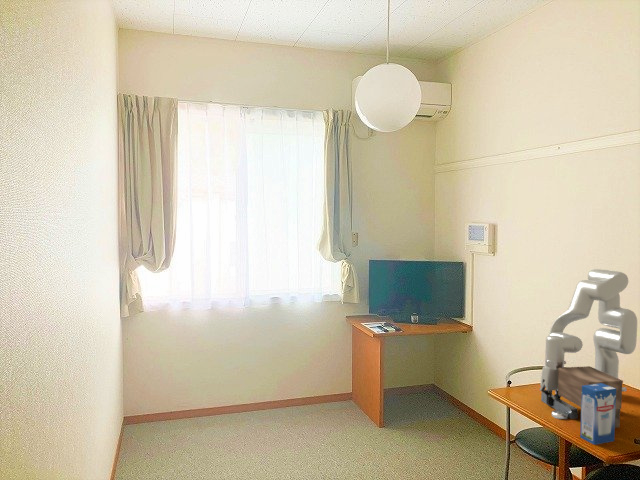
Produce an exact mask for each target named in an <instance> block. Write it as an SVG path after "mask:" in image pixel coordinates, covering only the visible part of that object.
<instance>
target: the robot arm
mask: <svg viewBox="0 0 640 480" xmlns="http://www.w3.org/2000/svg"><path fill="white" fill-rule="evenodd" d="M628 284H629V277H628V275H627V274H626V273H624V272H622V271H618V270H617V271H615V270H610V269H609V270H608V269H601V268H600V269H598V268H597V269H596V268H595V269H591V270H590V271H589V272H588V273H587V280H586V279H582V280H580V281H578V282H577V284H576V286H575V289H574V292H573V294H572V297H571V300H570V302H569V305H568V308H567V310H566V311H564V312H563V313H562V314H560V315H559V316H558V317H556V319H555V320H554V321H553V322H552V325H551V327H550V330H549V332H548V335H547V336H546V338H545V359H544V365H543V367H542V370H541V375H540V382H539V383H540V388H539V391H540V392H541V393H542V392H544V393H545V395H547V404H548V406H549V405H550V406H549V407H551V406H553V398H552V395H554V396H555V397H557V398H559V399H561V398H562V396H560V395H558V377H559V370H558V368H564V367H565V365H566V364H567V361H566V360H565V353H568V354H569V353H570V354H574V353H578V352H580V351H581V350H582V348H583V345H584V344H583V341H582V339H581V338H580V337H578V336H576V335H573V334H569V333H565V332H564V330H566V329H565V328H567V326H568V325H570V324H571V323H574V322H576V321H579V320H583V319H587V318H589V316H590V314H591V313H590V312H591V310H592V307H593V304H594V301H598V311H597V315H598V316H597V318H598V322H599V323H600V324H601V325H603V326H607V327H610V328H606V327H605V328H604V327H602V328H601V327H600V328H598V329H596V330H595V331H594V333H593V344H594V351H595V353H594V355H595V357H594V358H595V359H594V368H595V369H597V370H599V371H602V372H604V373H606V374H609V375H611V376H613V377H616V378H618V379H619V365H620V364H619V362H620V360H619V356H618V353H619V354H624V355H631V354H633V353H634V351H635V350H636V347H637V340H638V339H637V336H638V317H637V315H636V313H635V312H634V311H633V310H631V309H629V308H624V307H623V308H622V307H621V297H620V293H621V292H623V291H625V290H626V288H627V287H628ZM611 328H615V329H618V330H615V329H611ZM553 391H554V392H555V394H553ZM627 391H628V390H627V387H623V386H622V393H624V392H627ZM547 404H546V405H547Z"/></svg>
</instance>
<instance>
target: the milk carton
mask: <svg viewBox="0 0 640 480" xmlns="http://www.w3.org/2000/svg"><path fill="white" fill-rule="evenodd" d="M615 409H616V388H613V387H611V386H608V385H605V384H603V383H599V384H591V385H584V386H582V399H581V407H580V433H579V434H580V436H579V437H580V438H581V439H582V440H585V441H586V442H588V443H590V444H592V445H595V446H596V445H601V444H604V443H611V442H615V434H616V433H615V431H616V428H615Z"/></svg>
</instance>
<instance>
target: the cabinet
mask: <svg viewBox="0 0 640 480" xmlns="http://www.w3.org/2000/svg"><path fill="white" fill-rule="evenodd" d="M558 370H559V377H558V395H560V396H561V398H564V399H566V401H569V402H571V403H573V404H574V405H576V406H578V407H579V408H581V399H582V386H584V385H591V384H599V383H603V384H605V385H608V386H611V387H613V388H616V409H615V429H616V428H620V425H621V423H620V422H621V421H620V420H621V410H622V401H623V399H622V398H623V392H622V387H623V384H624V380H622V379H619V377H618V378H616V377H613V376H611V375H609V374H606V373H604V372H602V371H599V370H597V369H595V367H592V366H566V367H565V366H564V368H558Z"/></svg>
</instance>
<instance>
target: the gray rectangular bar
mask: <svg viewBox="0 0 640 480" xmlns="http://www.w3.org/2000/svg"><path fill="white" fill-rule="evenodd" d="M554 395H555V394H552V398H553V406H550V405H548V404H547V395H545V393H544V392H542V391H541V399H540V400H541V402H542V403H544V404H546V405H548V406H549V407H551V408H552V409H554V410H559V411H563V412H566V413H567V414H568V418H569V419H571V420H574V419H578V413H579V412H578V411H579V410H578V409H579V408H577V407H575V406H573V405H572V404H570V403H568V402H566V401H564V400H563V399H561V398H560V399H559V398H557V397H555V396H554Z"/></svg>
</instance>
